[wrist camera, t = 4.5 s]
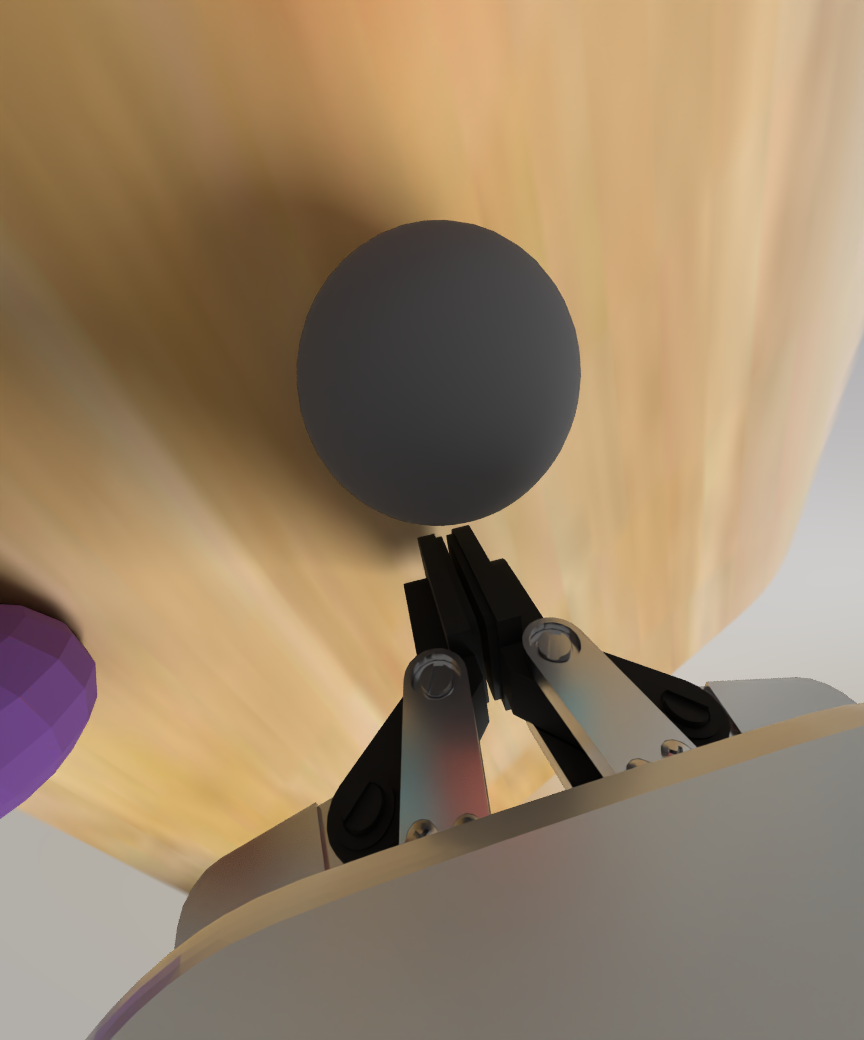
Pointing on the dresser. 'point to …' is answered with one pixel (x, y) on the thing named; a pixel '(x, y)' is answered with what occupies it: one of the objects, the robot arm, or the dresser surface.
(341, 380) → the dark gray ball
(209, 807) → the dresser surface
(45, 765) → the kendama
